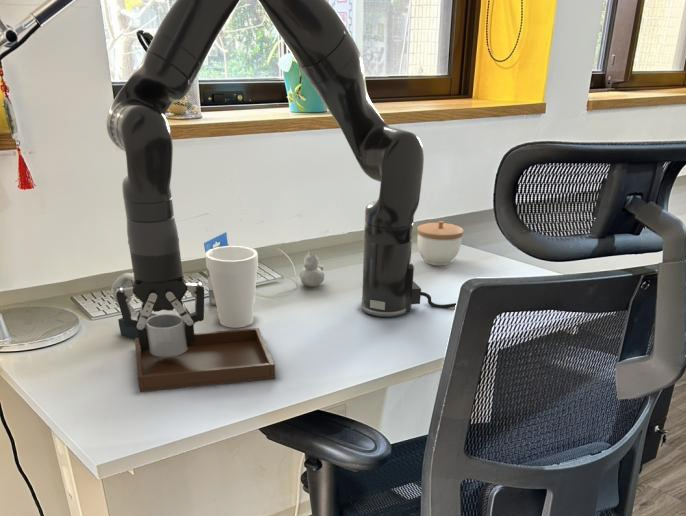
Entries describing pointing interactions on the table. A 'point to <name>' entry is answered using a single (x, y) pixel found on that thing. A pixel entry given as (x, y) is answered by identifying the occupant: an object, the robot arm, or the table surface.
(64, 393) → the table surface
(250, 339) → the tray
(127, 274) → the ring sculpture on stand
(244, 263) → the foam cup
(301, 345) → the table surface
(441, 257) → the trinket box
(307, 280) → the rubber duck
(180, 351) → the grey cup
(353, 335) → the table surface
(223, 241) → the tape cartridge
